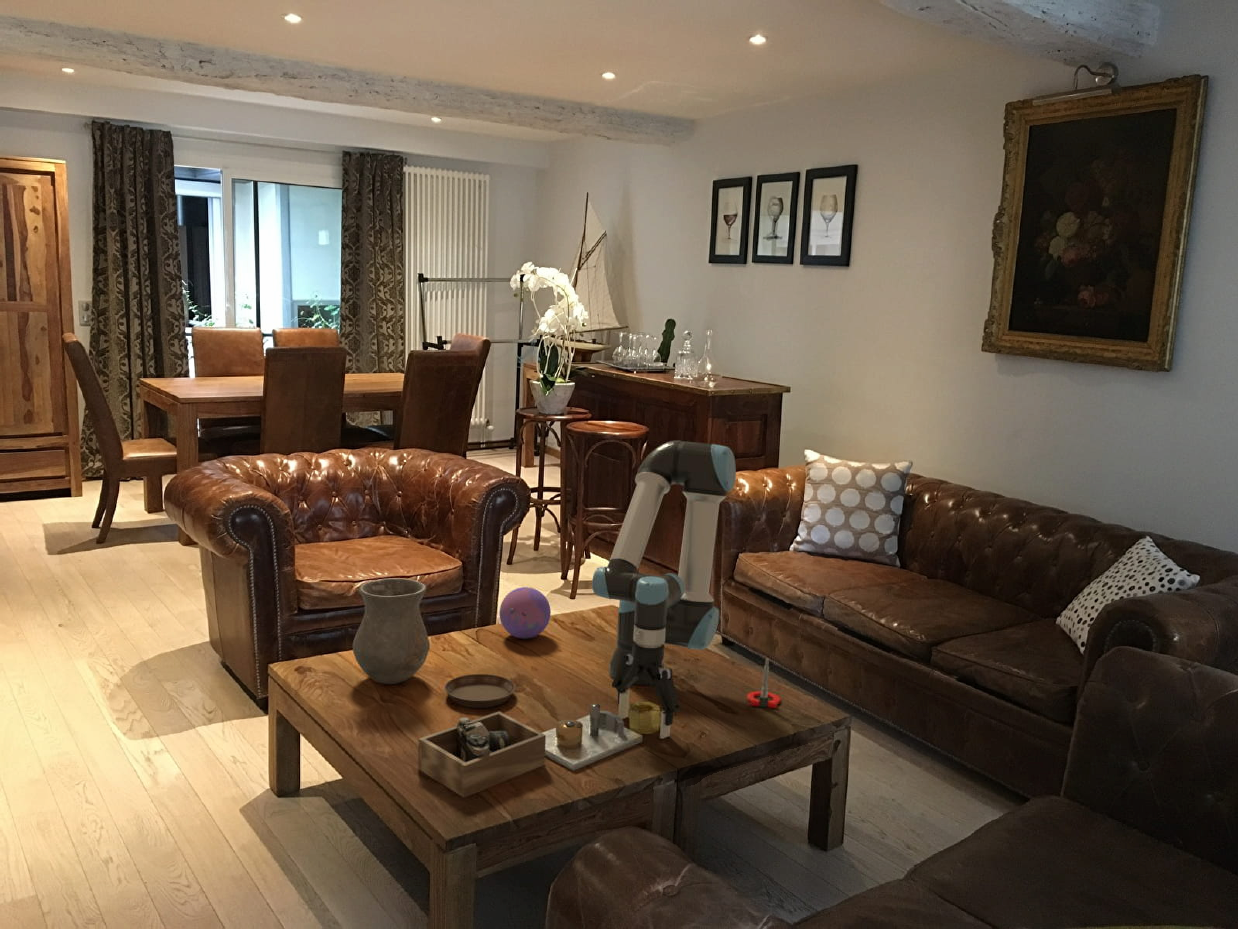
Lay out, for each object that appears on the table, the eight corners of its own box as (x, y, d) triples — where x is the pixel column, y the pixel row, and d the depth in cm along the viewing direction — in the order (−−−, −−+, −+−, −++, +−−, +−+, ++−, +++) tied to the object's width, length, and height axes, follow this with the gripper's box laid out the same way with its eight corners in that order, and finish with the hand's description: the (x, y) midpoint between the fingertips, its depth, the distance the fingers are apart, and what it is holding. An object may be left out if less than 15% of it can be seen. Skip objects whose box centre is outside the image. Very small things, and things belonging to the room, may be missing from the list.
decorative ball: (492, 643, 296) (494, 593, 293) (506, 626, 310) (508, 578, 308) (542, 648, 293) (544, 598, 291) (554, 631, 308) (556, 583, 305)
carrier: (525, 745, 232) (526, 710, 231) (594, 719, 248) (595, 686, 247) (573, 770, 222) (574, 734, 220) (642, 741, 237) (644, 707, 236)
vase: (337, 684, 261) (337, 590, 256) (381, 660, 278) (382, 572, 274) (402, 700, 253) (403, 603, 249) (443, 674, 271) (445, 583, 266)
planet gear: (623, 726, 245) (624, 707, 244) (643, 718, 250) (644, 699, 249) (644, 736, 240) (645, 716, 239) (664, 728, 245) (665, 708, 244)
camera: (519, 777, 215) (520, 732, 214) (472, 786, 211) (472, 740, 210) (496, 748, 230) (496, 706, 228) (451, 756, 225) (451, 712, 224)
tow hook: (747, 694, 270) (746, 706, 261) (751, 646, 268) (750, 657, 259) (779, 697, 268) (779, 710, 259) (783, 650, 267) (784, 661, 258)
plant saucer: (458, 680, 268) (458, 669, 267) (523, 688, 265) (523, 677, 264) (434, 707, 251) (434, 695, 250) (503, 716, 248) (503, 704, 247)
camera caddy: (418, 769, 219) (418, 738, 217) (498, 740, 234) (499, 711, 233) (463, 797, 208) (464, 765, 207) (544, 765, 224) (545, 735, 222)
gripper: (600, 631, 247) (595, 714, 250) (678, 661, 230) (672, 749, 234) (621, 625, 252) (617, 706, 256) (699, 654, 235) (693, 740, 239)
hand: (643, 727), depth 245 cm, fingers open, 13 cm apart
